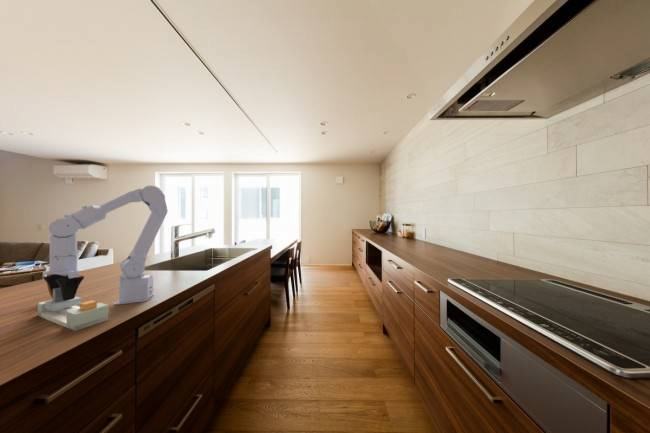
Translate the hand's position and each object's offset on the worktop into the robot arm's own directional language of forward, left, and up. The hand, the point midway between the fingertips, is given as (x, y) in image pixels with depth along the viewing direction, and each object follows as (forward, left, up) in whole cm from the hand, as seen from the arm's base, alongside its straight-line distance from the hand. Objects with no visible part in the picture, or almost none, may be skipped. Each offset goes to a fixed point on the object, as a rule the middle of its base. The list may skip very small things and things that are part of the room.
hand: (63, 297), depth 69 cm
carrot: (+11, -17, -6) cm, 21 cm away
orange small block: (-11, +11, -3) cm, 16 cm away
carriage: (0, 0, -3) cm, 3 cm away
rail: (-4, +4, -5) cm, 8 cm away
